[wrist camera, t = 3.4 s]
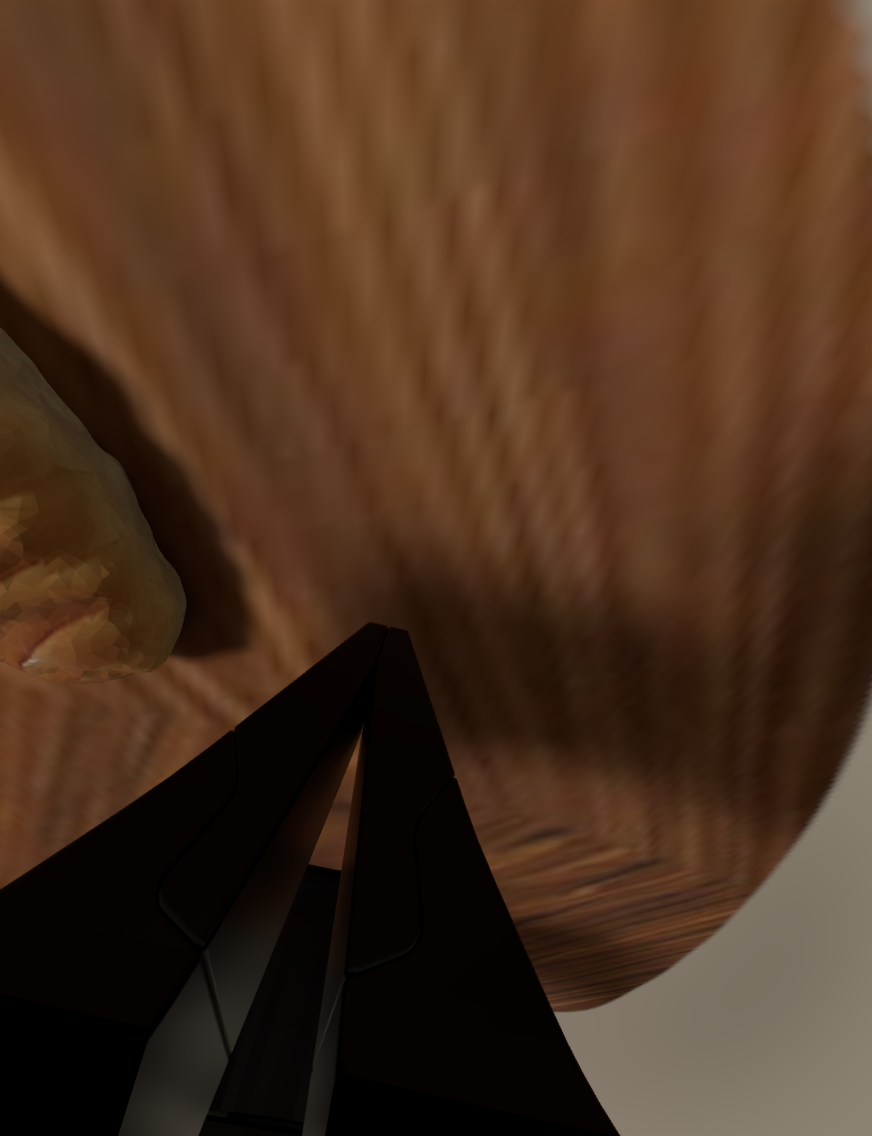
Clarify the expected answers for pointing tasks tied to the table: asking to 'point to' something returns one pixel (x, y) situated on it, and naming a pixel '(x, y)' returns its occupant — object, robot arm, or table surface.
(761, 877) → the table surface
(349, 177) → the table surface
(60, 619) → the pastry
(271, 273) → the table surface
